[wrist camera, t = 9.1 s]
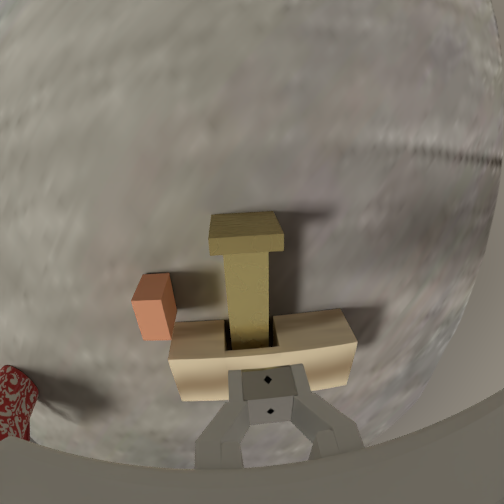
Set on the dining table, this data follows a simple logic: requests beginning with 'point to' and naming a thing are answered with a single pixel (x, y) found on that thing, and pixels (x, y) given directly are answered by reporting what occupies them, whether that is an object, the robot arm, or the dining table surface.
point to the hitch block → (262, 353)
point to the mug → (16, 403)
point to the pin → (246, 271)
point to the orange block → (155, 306)
